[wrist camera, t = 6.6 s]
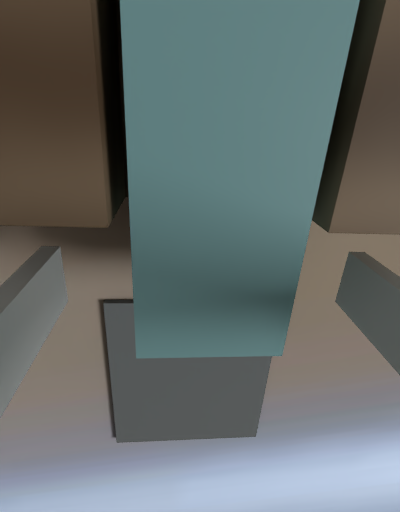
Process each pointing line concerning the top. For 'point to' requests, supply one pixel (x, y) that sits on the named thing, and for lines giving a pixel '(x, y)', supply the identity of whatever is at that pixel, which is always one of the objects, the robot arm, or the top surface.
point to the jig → (114, 130)
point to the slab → (225, 164)
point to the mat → (179, 389)
